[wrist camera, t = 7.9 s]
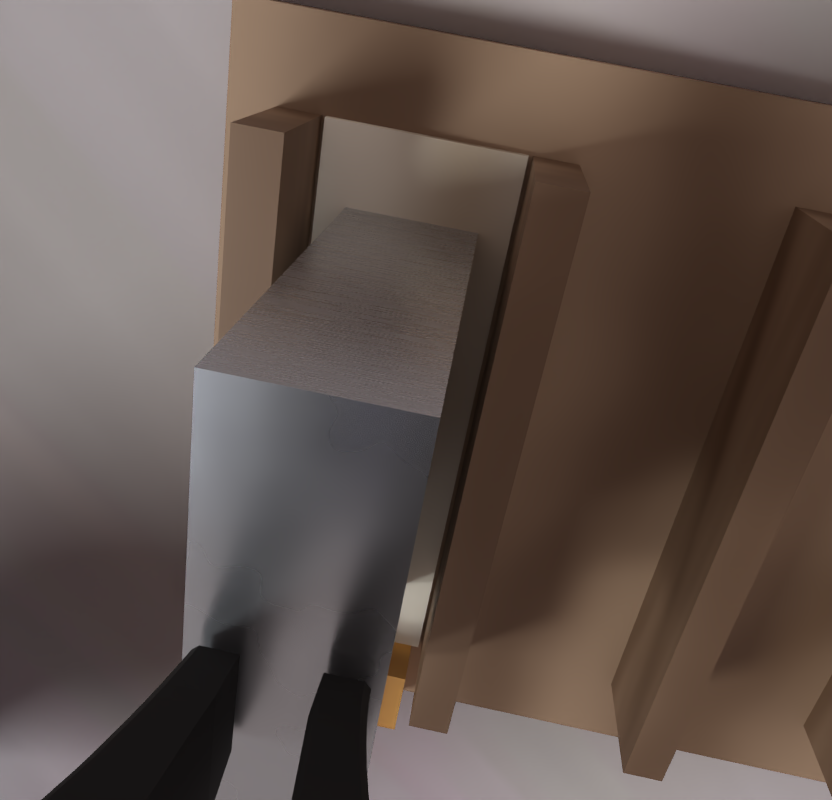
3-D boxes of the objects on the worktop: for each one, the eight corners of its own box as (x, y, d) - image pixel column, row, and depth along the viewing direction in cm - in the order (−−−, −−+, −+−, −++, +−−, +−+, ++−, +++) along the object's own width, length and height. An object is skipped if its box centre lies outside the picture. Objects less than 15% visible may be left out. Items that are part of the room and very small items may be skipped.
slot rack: (209, 622, 25) (156, 723, 21) (247, -5, 17) (174, -12, 13) (835, 759, 24) (889, 886, 21) (1188, 172, 16) (1377, 214, 13)
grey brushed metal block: (301, 560, 22) (172, 875, 14) (345, 207, 17) (194, 367, 9) (405, 583, 22) (339, 913, 14) (478, 232, 17) (440, 418, 9)
